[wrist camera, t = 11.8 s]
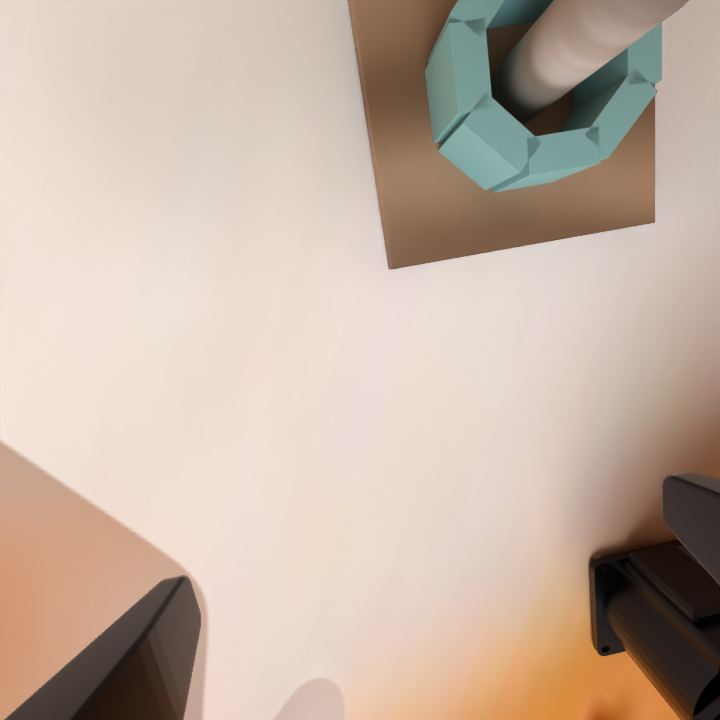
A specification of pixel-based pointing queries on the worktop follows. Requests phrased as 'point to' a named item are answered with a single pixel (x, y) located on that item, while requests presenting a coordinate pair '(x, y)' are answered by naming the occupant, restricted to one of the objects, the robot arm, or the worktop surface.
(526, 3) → the ring
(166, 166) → the worktop surface
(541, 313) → the worktop surface
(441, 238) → the post stand
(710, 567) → the robot arm
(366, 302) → the worktop surface
